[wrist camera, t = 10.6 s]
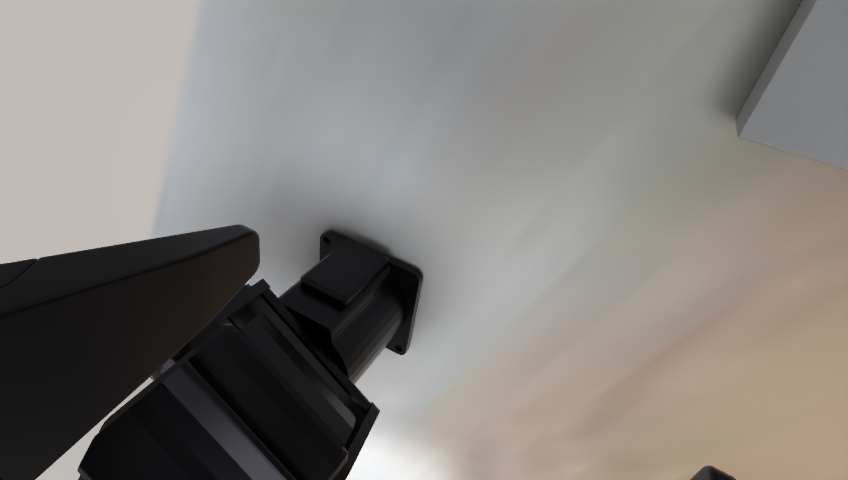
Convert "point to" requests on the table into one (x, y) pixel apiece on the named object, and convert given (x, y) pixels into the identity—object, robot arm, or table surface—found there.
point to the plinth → (804, 88)
